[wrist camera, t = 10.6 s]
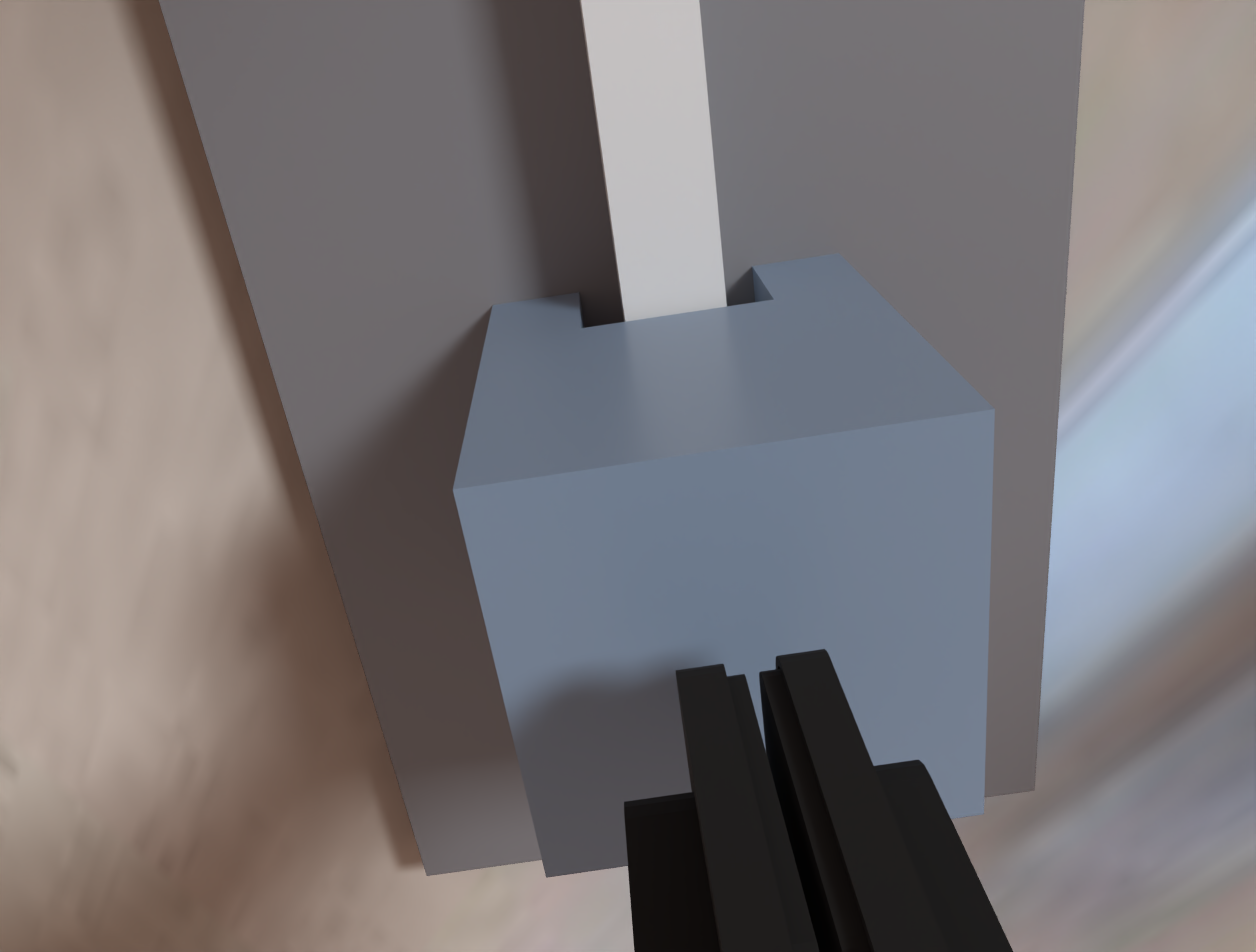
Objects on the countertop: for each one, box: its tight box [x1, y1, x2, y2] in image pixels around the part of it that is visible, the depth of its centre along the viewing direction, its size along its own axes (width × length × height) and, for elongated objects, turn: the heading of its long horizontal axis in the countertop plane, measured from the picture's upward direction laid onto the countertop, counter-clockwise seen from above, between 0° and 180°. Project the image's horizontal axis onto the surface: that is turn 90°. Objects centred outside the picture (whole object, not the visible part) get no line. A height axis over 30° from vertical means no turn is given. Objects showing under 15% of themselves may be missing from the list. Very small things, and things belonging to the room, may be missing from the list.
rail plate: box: [159, 0, 1085, 876], centre depth 18 cm, size 20×14×3 cm
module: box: [453, 253, 995, 878], centre depth 16 cm, size 6×6×7 cm
